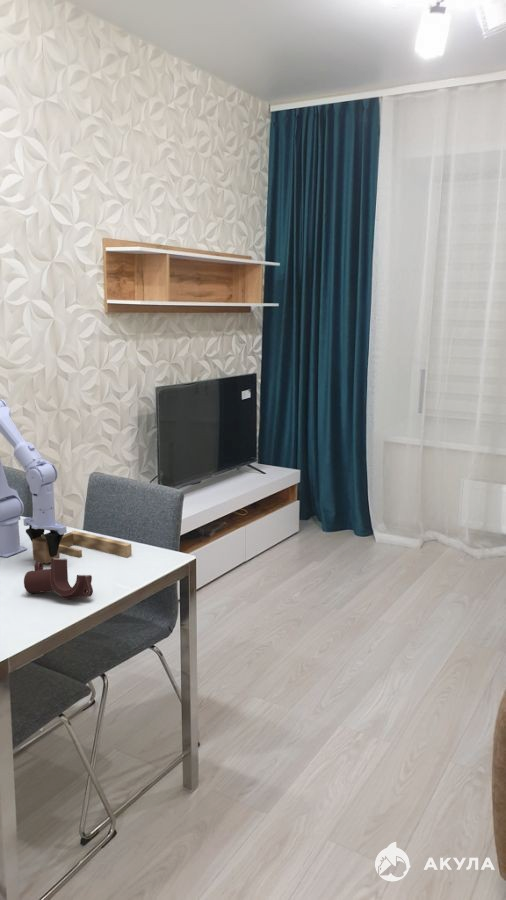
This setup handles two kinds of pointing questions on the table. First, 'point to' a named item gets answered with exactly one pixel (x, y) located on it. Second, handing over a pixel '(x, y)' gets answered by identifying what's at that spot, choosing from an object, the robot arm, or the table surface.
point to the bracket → (57, 580)
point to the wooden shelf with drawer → (92, 544)
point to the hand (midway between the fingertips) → (46, 553)
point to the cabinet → (42, 550)
